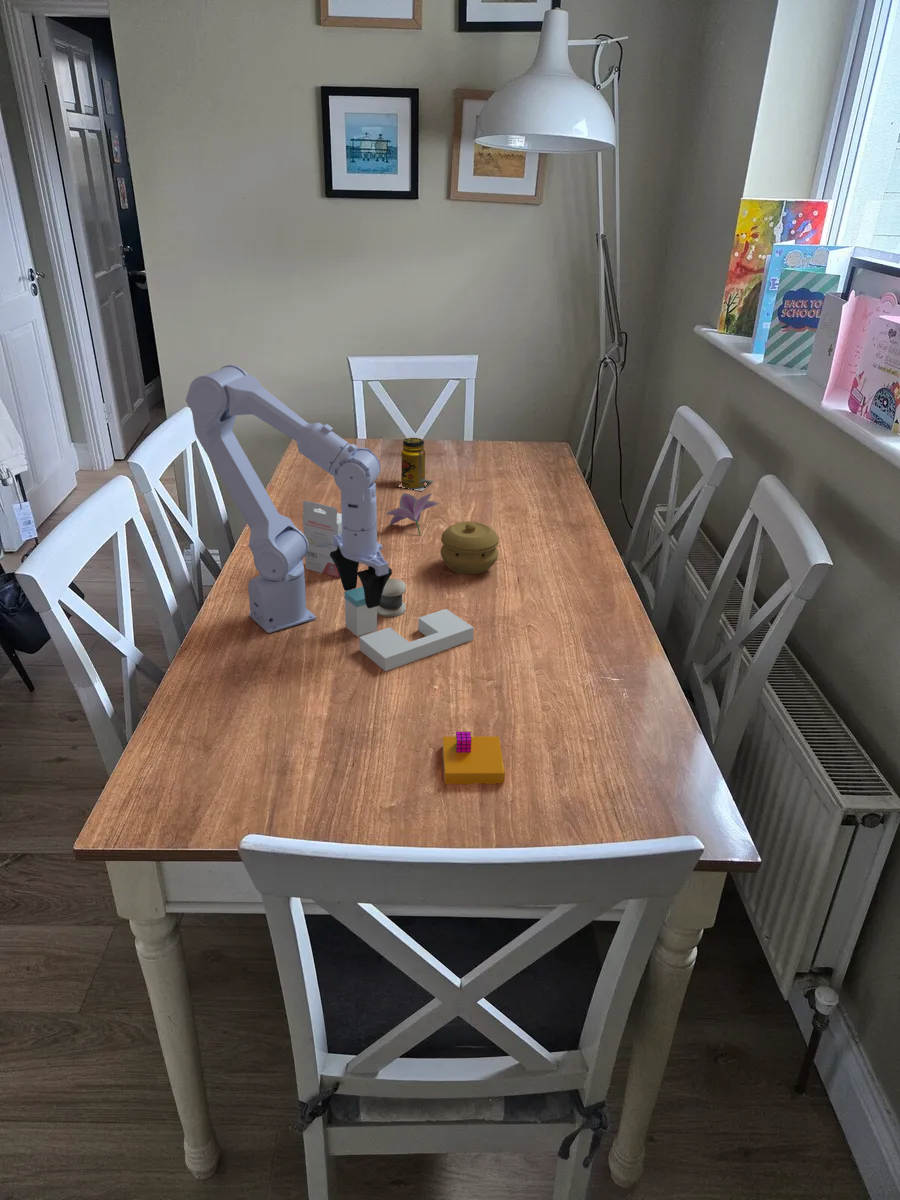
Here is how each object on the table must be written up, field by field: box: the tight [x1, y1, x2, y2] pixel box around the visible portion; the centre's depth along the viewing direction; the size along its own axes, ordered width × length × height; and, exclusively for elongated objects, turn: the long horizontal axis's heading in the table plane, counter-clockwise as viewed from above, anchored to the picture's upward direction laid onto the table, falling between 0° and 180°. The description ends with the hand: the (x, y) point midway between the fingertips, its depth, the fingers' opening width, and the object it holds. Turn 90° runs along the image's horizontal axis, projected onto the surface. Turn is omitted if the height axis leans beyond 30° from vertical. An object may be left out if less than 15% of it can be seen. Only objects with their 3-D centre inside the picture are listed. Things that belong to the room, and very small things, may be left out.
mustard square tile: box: [441, 731, 506, 785], centre depth 110 cm, size 8×8×4 cm
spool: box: [377, 578, 407, 618], centre depth 148 cm, size 6×6×5 cm
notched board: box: [358, 608, 475, 672], centre depth 137 cm, size 18×8×2 cm, turn 127°
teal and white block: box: [343, 586, 378, 637], centre depth 141 cm, size 4×4×7 cm
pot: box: [440, 521, 500, 575], centre depth 163 cm, size 12×12×10 cm
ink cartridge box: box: [302, 500, 342, 579], centre depth 159 cm, size 9×5×15 cm, turn 62°
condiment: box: [400, 437, 434, 492], centre depth 206 cm, size 7×8×12 cm
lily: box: [385, 493, 439, 536], centre depth 180 cm, size 12×12×10 cm
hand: (361, 597), depth 139 cm, fingers open, 7 cm apart
